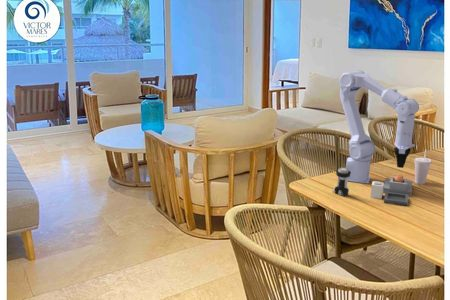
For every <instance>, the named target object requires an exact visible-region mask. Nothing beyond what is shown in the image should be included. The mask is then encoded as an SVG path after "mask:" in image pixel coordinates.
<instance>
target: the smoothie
mask: <svg viewBox="0 0 450 300" xmlns="http://www.w3.org/2000/svg"><path fill="white" fill-rule="evenodd" d="M423 155H424V156H423V157H415V158H414V160H413V161H414V183H415V184H417V185H425V184H426V182H427V176H428V174H429V170H430V166H431V164H432V160H431V159H430V158H427V148H425V149H424V154H423Z"/></svg>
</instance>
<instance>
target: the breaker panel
mask: <svg viewBox="0 0 450 300" xmlns="http://www.w3.org/2000/svg"><path fill="white" fill-rule="evenodd" d="M394 180H395V176H393V177H392V176H391V177H390V178H389V177H385V180H384V186H383V194H385V193H386V192H392V193H400V194H407V195H408V198H412V194H413V193H412V191H413V181H412V180H408V179H407V178H403V183H400V182H394Z"/></svg>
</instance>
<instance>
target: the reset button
mask: <svg viewBox="0 0 450 300" xmlns="http://www.w3.org/2000/svg"><path fill="white" fill-rule="evenodd" d="M394 177H395V180H394V182H400V183H403V179H404V176H403V175H401V174H396V175H394Z"/></svg>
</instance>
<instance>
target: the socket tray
mask: <svg viewBox="0 0 450 300" xmlns="http://www.w3.org/2000/svg"><path fill="white" fill-rule="evenodd" d="M383 203H384V204H390V205H397V206H403V207H408V206H409V196H408V195H407V194H400V193H392V192H386V193H384V199H383Z"/></svg>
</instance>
